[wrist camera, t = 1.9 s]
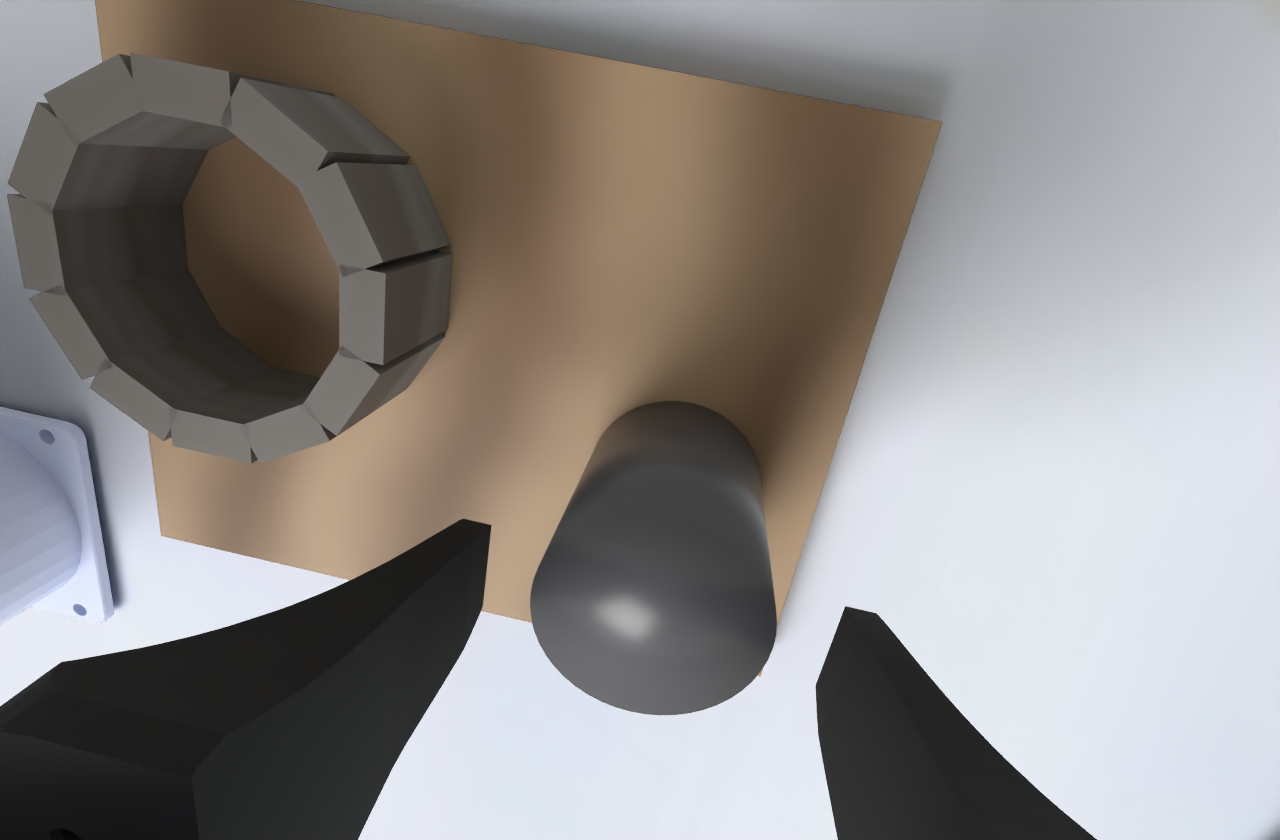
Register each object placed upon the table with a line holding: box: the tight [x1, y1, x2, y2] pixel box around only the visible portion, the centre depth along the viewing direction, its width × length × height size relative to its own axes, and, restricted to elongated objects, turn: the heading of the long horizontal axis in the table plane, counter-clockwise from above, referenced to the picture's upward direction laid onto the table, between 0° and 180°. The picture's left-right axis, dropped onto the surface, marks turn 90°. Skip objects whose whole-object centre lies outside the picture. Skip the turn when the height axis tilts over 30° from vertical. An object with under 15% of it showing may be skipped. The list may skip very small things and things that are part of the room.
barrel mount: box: [7, 0, 942, 676], centre depth 16 cm, size 20×16×4 cm
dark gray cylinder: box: [530, 401, 777, 715], centre depth 15 cm, size 5×5×6 cm
